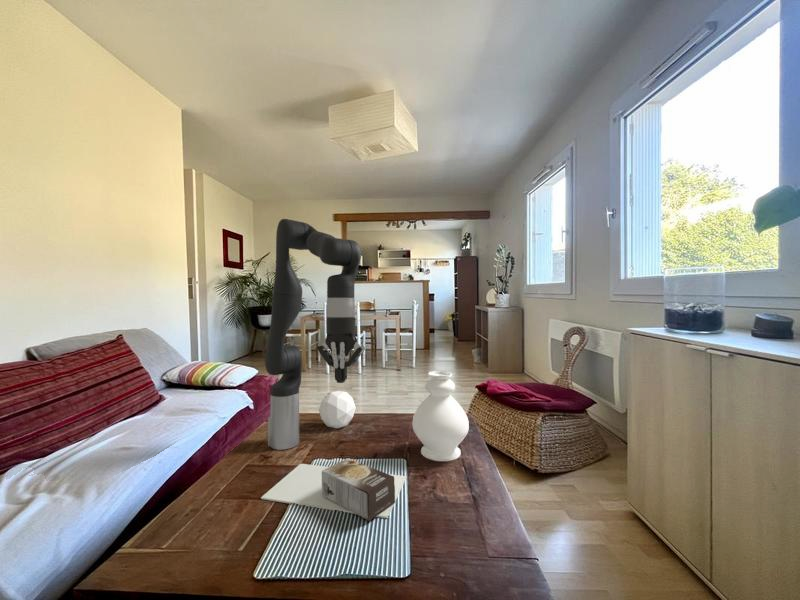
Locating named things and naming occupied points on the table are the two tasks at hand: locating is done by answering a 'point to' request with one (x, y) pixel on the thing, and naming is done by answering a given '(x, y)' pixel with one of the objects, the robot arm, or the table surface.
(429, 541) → the table surface
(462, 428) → the decorative vase
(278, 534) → the table surface
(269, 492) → the mat
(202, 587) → the table surface
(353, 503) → the coffee box
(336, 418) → the geodesic sphere
